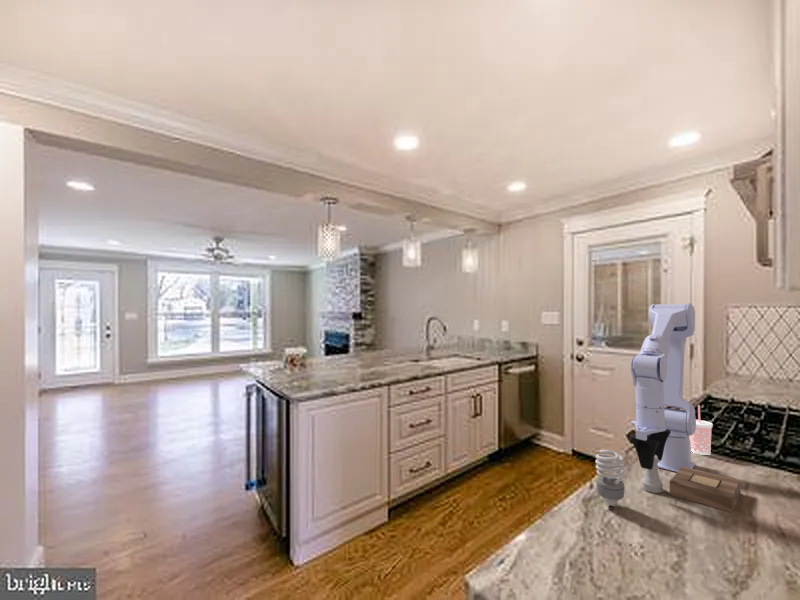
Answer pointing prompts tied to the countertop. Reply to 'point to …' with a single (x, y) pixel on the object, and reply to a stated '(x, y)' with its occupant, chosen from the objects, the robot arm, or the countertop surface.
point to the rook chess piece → (652, 479)
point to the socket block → (706, 489)
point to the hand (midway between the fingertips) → (651, 463)
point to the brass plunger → (705, 481)
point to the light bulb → (610, 476)
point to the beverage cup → (701, 437)
